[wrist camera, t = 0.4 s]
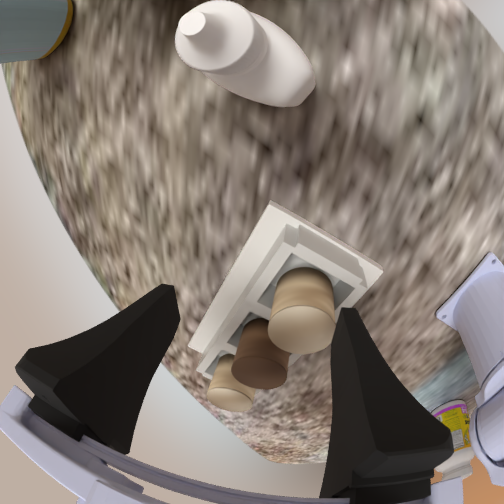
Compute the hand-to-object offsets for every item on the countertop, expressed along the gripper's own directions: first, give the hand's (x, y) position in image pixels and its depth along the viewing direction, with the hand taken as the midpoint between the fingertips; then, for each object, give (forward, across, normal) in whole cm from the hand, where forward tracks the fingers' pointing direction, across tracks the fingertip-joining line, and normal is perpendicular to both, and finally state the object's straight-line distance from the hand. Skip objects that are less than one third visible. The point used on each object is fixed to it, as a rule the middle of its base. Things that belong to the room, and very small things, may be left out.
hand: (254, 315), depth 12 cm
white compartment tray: (+10, 0, +9) cm, 13 cm away
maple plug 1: (+7, +2, +14) cm, 16 cm away
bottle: (+10, +21, -19) cm, 30 cm away
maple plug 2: (+7, -2, +4) cm, 8 cm away
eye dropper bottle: (+10, +1, -10) cm, 14 cm away
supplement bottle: (+10, -29, +27) cm, 41 cm away
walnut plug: (+7, 0, +9) cm, 11 cm away
